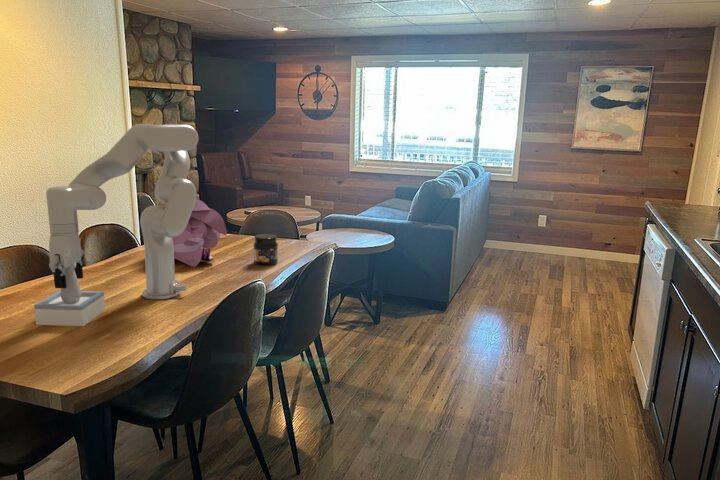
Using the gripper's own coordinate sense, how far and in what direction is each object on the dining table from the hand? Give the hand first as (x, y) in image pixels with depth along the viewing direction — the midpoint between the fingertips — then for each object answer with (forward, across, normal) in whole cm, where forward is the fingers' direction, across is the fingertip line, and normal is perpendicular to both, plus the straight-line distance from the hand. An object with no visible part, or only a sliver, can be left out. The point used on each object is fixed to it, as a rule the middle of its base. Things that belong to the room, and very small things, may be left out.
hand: (69, 282), depth 163 cm
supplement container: (+12, -70, +48) cm, 85 cm away
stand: (+11, 0, 0) cm, 11 cm away
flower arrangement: (+12, -71, +14) cm, 73 cm away
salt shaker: (+6, 0, 0) cm, 6 cm away
